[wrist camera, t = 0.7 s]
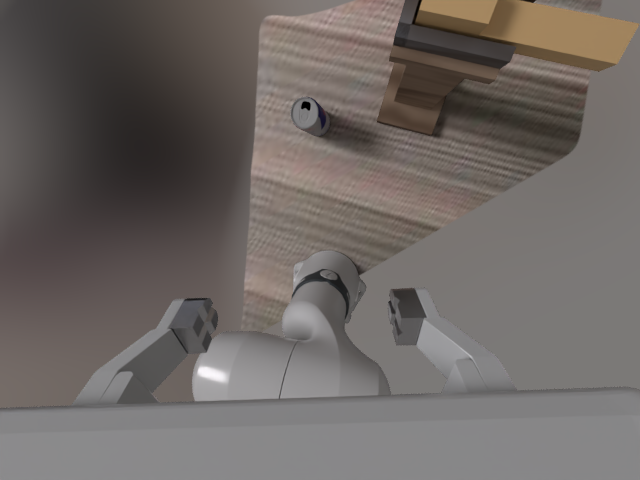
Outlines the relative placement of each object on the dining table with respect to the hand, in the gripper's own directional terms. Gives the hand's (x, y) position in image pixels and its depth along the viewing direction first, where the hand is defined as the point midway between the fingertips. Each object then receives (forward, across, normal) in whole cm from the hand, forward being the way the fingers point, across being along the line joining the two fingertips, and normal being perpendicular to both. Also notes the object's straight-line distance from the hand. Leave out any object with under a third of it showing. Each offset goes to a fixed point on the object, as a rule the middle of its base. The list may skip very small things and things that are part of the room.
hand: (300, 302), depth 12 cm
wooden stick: (+24, +20, +10) cm, 33 cm away
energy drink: (+52, +1, -3) cm, 52 cm away
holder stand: (+50, +20, +2) cm, 54 cm away
